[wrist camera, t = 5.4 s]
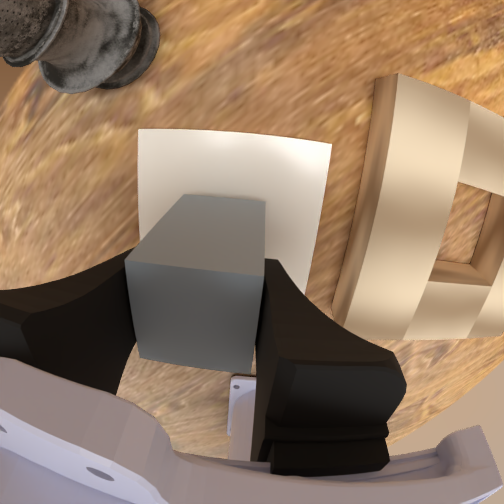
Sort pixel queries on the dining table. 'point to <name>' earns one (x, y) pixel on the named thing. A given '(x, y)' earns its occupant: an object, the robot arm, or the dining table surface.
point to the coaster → (239, 183)
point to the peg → (200, 284)
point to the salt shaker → (79, 41)
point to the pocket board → (423, 219)
